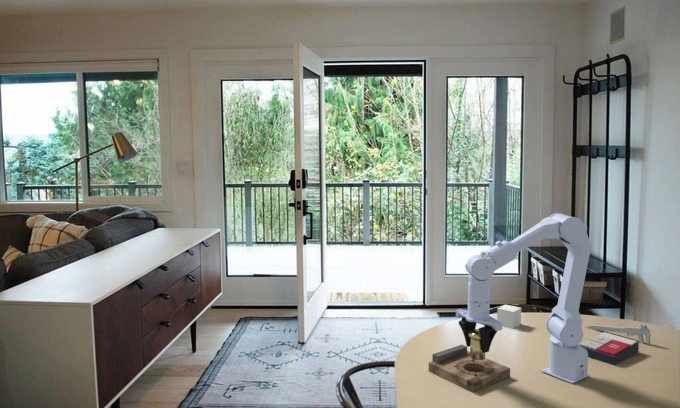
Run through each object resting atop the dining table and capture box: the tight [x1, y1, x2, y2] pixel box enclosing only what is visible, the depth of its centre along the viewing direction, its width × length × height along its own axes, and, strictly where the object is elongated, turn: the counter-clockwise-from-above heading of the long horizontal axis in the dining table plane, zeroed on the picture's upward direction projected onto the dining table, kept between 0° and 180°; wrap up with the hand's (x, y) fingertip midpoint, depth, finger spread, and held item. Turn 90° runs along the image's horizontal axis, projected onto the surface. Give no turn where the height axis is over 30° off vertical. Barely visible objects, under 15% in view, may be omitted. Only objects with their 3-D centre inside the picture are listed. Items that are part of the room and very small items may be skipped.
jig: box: [428, 344, 511, 393], centre depth 147 cm, size 16×15×4 cm
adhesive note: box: [496, 304, 522, 329], centre depth 186 cm, size 6×6×6 cm
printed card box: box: [579, 331, 640, 366], centre depth 160 cm, size 11×4×15 cm
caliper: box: [586, 324, 652, 346], centre depth 174 cm, size 20×1×6 cm, turn 36°
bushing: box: [469, 328, 486, 360], centre depth 145 cm, size 5×5×7 cm
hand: (477, 348), depth 145 cm, fingers closed on bushing, 5 cm apart
